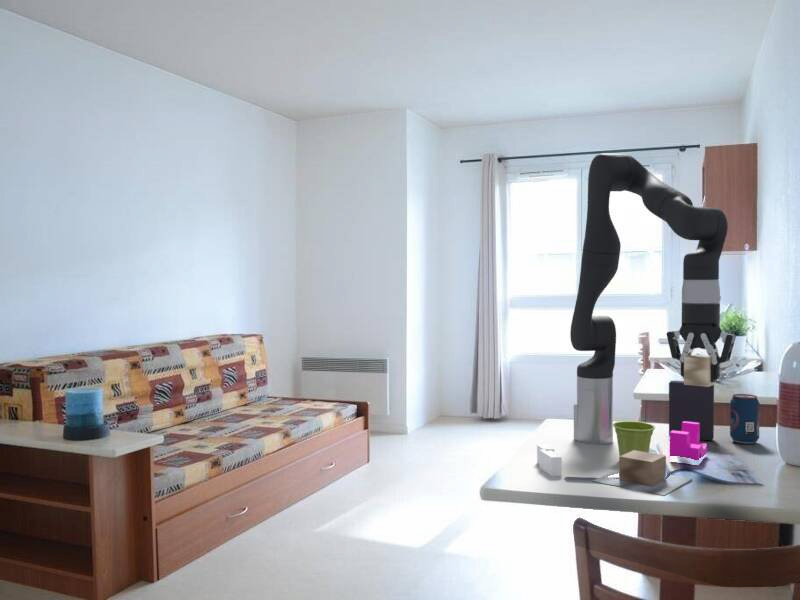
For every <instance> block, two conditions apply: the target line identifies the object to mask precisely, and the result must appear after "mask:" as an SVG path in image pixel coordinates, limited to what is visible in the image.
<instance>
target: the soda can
mask: <svg viewBox="0 0 800 600" xmlns="http://www.w3.org/2000/svg"><path fill="white" fill-rule="evenodd" d="M729 403H730V404H729V405H730V406H729V408H730V409H729V411H730V412H729V415H730V417H729V418H730V419H729V437H731V440H732V441H734V442H736V443H740V444H755V443H757V442H758V440H759V438H760V410H761V409H760V402H759V400H758V396H757V395H754V394H747V393H736V394H732V398H731V399H730V402H729Z"/></svg>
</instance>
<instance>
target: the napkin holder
mask: <svg viewBox="0 0 800 600" xmlns="http://www.w3.org/2000/svg"><path fill="white" fill-rule="evenodd" d="M536 458H537V460H536V463H537V464H538V465H539V469H541V470H542V471H544V472H545V473H546V474H548V475H549V476H550V477H556V476H557V477H558V476H562V475H563V474H562V472H563V471H562V470H563V468H562V467H563V466H562V463H563V461H562V456H561V455H559V454H557V453H556V452H555V448H554V447H552V446H550V445H549V444H546V443H545V444H537V445H536Z"/></svg>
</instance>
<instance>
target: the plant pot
mask: <svg viewBox="0 0 800 600" xmlns="http://www.w3.org/2000/svg"><path fill="white" fill-rule="evenodd" d="M613 428H614V431H615V434H616V440H617V447H618V455H619V456H622V455H624V454H626V453H628V452H631V451H633V450H636V451H642V452H648V453H650V446H651V440H652V435H653V433H654V430H655V429H656V427H655V425H653V424H651V423H647V422H643V421H632V420H631V421H626V420H625V421H617V422H613Z"/></svg>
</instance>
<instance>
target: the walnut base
mask: <svg viewBox="0 0 800 600" xmlns="http://www.w3.org/2000/svg"><path fill="white" fill-rule="evenodd" d="M618 459H619V463H618V464H619V468H618V469H614V470H612V471H611V472H609V473H606V474H604V475H601V476H600V477H598V478H595V479H593V480H592V482H593V483H597V484H603V485H608V486H613V487H617V488H621V489H622V488H623V489H627V490H631V491H632V490H633V491H637V492H642V493H647V494H652V495H657V496H662V497H665V496H667V495H669V494H670V493H672V492H674V491H676V490H678V489H679V488H681V487H683V486H685V485H688V483H691V482H692V481H693V478H690V477H686V476H680V475H675V474H670V476H669V477H668V478H667V479H665V480H664V477H665V476H666V474H667V456H666V455H665V454H660V453H652V452H649V453H648V452H642V451H636V450H633V451H631V452H628V453H626V454H624V455H622V456H619V457H618ZM618 473H619V479H616V478H615V479H614V478H608V476H610V475H614V474H618ZM606 477H607V478H606Z"/></svg>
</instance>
